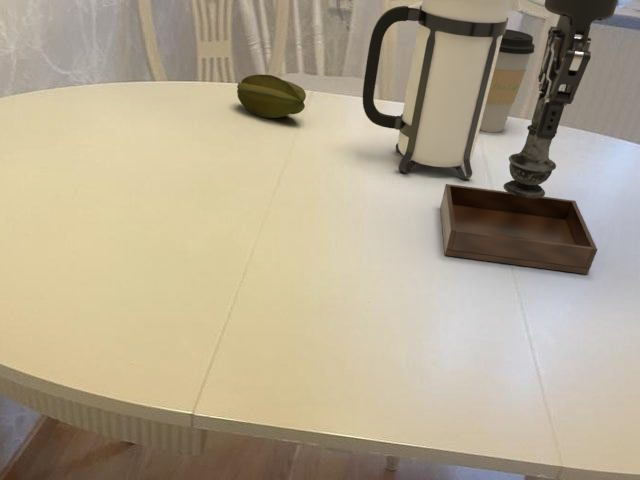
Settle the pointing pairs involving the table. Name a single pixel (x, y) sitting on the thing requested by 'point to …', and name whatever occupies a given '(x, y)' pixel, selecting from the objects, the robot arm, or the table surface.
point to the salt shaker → (531, 163)
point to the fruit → (270, 96)
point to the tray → (515, 229)
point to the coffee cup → (506, 78)
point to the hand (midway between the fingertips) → (542, 131)
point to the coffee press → (442, 79)
